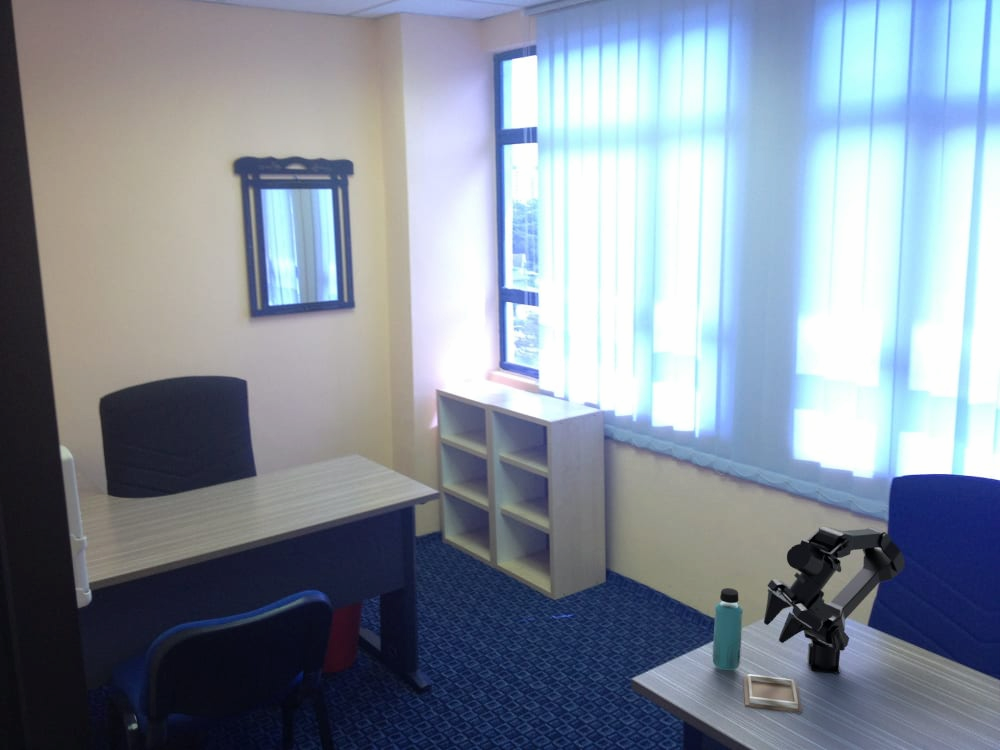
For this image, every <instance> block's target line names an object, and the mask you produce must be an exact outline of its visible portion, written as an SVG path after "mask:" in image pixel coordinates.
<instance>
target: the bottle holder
mask: <svg viewBox="0 0 1000 750" xmlns="http://www.w3.org/2000/svg"><path fill="white" fill-rule="evenodd" d="M742 679H743V680H742V681H743V693H744V706H745V707H749V708H758V709H764V710H765V708H766V710H773V711H782V712H788V713H789V712H790V713H797V714H798V713H799V714H803V707H802V702H801V697H800V691H799V684H798V682H796V681H795V679H794V678H784V677H777V676H769V675H768V676H767V675H759V674H750V673H747V676H743V677H742Z"/></svg>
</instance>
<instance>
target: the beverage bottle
mask: <svg viewBox="0 0 1000 750" xmlns="http://www.w3.org/2000/svg"><path fill="white" fill-rule="evenodd" d="M719 596H720V597H719V599H720V602H718V603H717V604H716V605H715V608H714V610H715V611H714V612H715V613H714V626H713V627H714V628H713V643H712V656H711V658H712V659H711V661H712V663H713V665H714V666H715V667H716V668H717V669H718V668H719V669H720V670H724V671H725V670H726V671H733V670H737V669H738V668H739V667H740V664H741V661H742V660H741V658H742V657H741V656H742V654H741V652H742V641H743V639H742V631H743V630H742V629H743V628H742V627H743V625H742V624H743V623H742V621H743V607H742V606H740V604H738V602H739V599H740V598H739V592H738V590H736V589H735V588H730V587H727V588H723V589H721V591H720V595H719Z"/></svg>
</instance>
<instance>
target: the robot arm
mask: <svg viewBox="0 0 1000 750" xmlns="http://www.w3.org/2000/svg"><path fill="white" fill-rule="evenodd" d="M854 550H855V551H857V550H858V551H859V550H862V552H863V567H861V569H859V570H858V572H857V573H856V575H854V576H853V577H852V579H851V580H849V582H848V583H847V584H846V585H845V586H844V587H843V588H842V589H841V590H839V592H838V594H837V595H835V597H834V598H832V600H831V601H830V602H829V603H828V602H827V603H826V602H825V599H824V598H823V597H824V595H825V592H824V591H823V589H824V588H825V586H826V585H827V584H828V582H829V581H830V579H831V578H832V577H833V576H834V574H835V573H836V572H838V573H841V572H842V566H841V560H839V559H841V558H842V559H843V558H844V557H847V556H849V555H851V553H852V551H854ZM838 558H839V559H838ZM786 561H787V563H788V565H789V566H790V567H791V568H793V569H794V570H796V571H798V572H799V573H798V572H796V573H795V574H794V577H795V578H796V579H795V580H794V582H793V583H792V584H791V586H789V585H788V584H786V583H785V582H783V581H782V580H780V579H778V578H773V579H771V580H770V581H769V583H768V584H767V587H768V590H767V592H768V593H767V602H766V608H765V614H764V619H763V623H764V624H765V625H767V626H768V625H769V624H770V623H771V622H773V620H774V619H776V617H777V616H778V615H779V614H780V613H781V612H782V611H783V610H784V609H787V608H790V607H792V611H789V612H788V615H787V617H786V620H785V622H784V624H783V627H782V629H781V632H780V635H779V637H778V642H780V643H781V644H784V643H785V642H787V641H789V640H790V639H792V638H793V637H794V636H796V635H798V634H800V633H801V632H804V637H805V638H806V639H809V640H811V641H810V642H809V643H807V644H808V646H807V656H806V657H807V663H808V664H809V667H810V670H811V671H814V672H821V673H830V674H831V673H833V674H841V673H840V672H841V670H840V657H841V651H845V649H846V648H847V646H848V644H849V641H850V636H849V635H848V634H847V633H846V632H845V630H846V620H847V618H849V616H850V615H851V614H852V613H853V611H855V609H856V608H857V607H859V605H861V603H862V602H863V601H864V600H865V599H866V598H867V596H868V595H869V594H871V592H872V591H873V590H874V589H875V588H876V587H877V586H878V585H879V584H880V583H883V582H888V581H891V580H893V579H894V578H896V577H897V576H898V575H899V574H900V573H901V572H903V570H904V568H905V566H906V565H905V564H906V561H905V558H904V556H903V552H902V550H901V549H900V548H899V547H898V546H897V545H896V544H895V543H894V542H893V540H892V539H891V536H890V535H889V534H888V532H886V531H883V530H880V529H877V528H874V527H867V528H864V529H861V528H860V529H851V530H841V529H836V528H833V527H829V526H821V527H819V528H818V529H817V530H816V531H815V532H814V533H813V534H812V535H810V536H809V537H808V538H807V539H806V540H805V539H801V541H800V543H798V544H794V545H793V546H792V547H790V549H789V550H788V551H787V553H786Z"/></svg>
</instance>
